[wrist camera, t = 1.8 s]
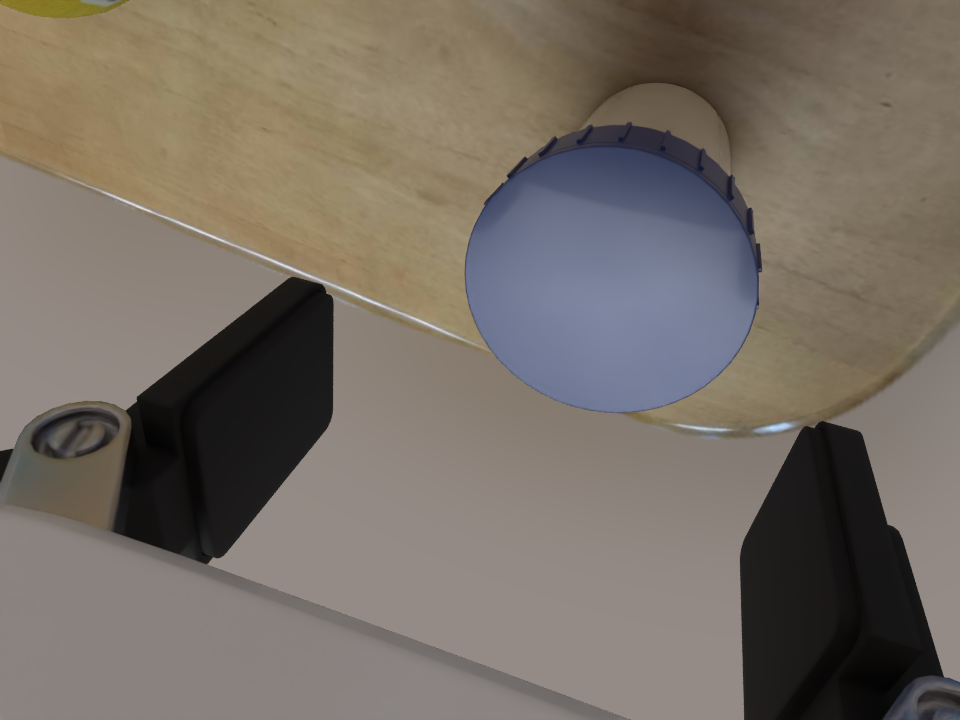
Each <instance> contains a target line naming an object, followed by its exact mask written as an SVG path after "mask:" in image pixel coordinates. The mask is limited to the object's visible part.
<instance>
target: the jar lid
mask: <svg viewBox="0 0 960 720" xmlns="http://www.w3.org/2000/svg"><path fill="white" fill-rule="evenodd" d="M706 152H707V150H705V149H704V148H702V150H700V149H698V148H697V147H695V146H693V145H692V144H690V143H689V142H687V141H685V140H683V139H680V138H678V137H676V136H673V135H671V131H669V130H667V131H666V132H662V131H659V130H655V129H652V128H647V127H640V126H633V125H632V122H627V124H626V125H606V126H598V127H593V125H592V124H591V125H588V126H587V127H586V128H585V129H583V130H579V131H576V132H572V133H570V134H568V135H565V136H563V137H560V138H558V139H557V137H556V136H555V137H553V138H552V139H551V140H550V141H549V142H548V143H547V144H546V145H545V146H544V147H542V148H541V149H539V150H538V151H537V152H535V153H534V154H533V155H532V156H530V157H529V158H528V159H527V158H526V157H524V158H523V159H522V160H521V161H520V162H519V163H518V164H517V165H516V166H515V167H514V168H513V169H512V170H511V172H510V173H509V174H508V175H507V177H508V178H509V179H508V180H507V181H506V182H505V183H502V184H501V185H500V186H499V187H498V188H497V189H496V191H495V192H494V193H493V194H492V195H491V196H490V197H489V198H488V199H487V200H486V201H485V203H484V205H486V206H485V207H484V208H483V210H482V212H481V214H480V216H479V218H478V219H477V221H476V223H475V225H474V228H473V231H472V233H471V237H470V240H469V243H468V248H467V253H466V261H465V284H466V293H467V298H468V302H469V307H470V310H471V313H472V315H473V318H474V321H475V323H476V325H477V327H478V329H479V331H480V334H481V336H482V337H483V339H484V340H485V342H486V343H487V345H488V347H489V348H490V350H491V351H492V352H493V353H494V355H495V356H496V357H497V358H498V359H499V361H500V362H501V363H502V364H503V365H504V366H505V367H506V368H507V369H508V370H509V371H511V373H513V374H514V375H515V376H516V377H518V378H519V379H520V380H522V381H523V382H524V383H525V384H527V385H528V386H530V387H532V388H533V389H535V390H536V391H538V392H540V393H541V394H544V395H546V396H548V397H550V398H552V399H554V400H556V401H559V402H562V403H565V404H567V405H570V406H574V407H578V408H583V409H586V410H591V411H599V412H610V413H627V412H639V411H645V410H650V409H655V408H659V407H662V406H665V405H669V404H672V403H675V402H677V401H679V400H681V399H683V398H686V397H688V396H690V395H692V394H693V393H695V392H697V391H698V390H700V389H701V388H703V387H705V386H706V385H707V384H708V383H710V382H711V381H712V380H713V379H715V378H716V377H717V376H718V375H719V374H720V373H721V372H722V371H723V370H724V369H725V368H726V367H727V366H728V365H729V364H730V363H731V362H732V360H733V359H734V357H735V356H736V355H737V353H738V352H739V350H740V349H741V348H742V346H743V344H744V342H745V340H746V338H747V336H748V334H749V332H750V329H751V326H752V323H753V320H754V317H755V314H756V309H758V307H759V297H758V293H759V275H758V272H762V262H761V251H760V243H759V244H756V239H755V232H754V220H753V210H752V208H749V209H748V207H747V205H746V203H745V201H744V199H743V197H742V195H741V193H740V191H739V190H738V188H737V187H736V185H735V178H734V177H733V175H731V176H728V174H727V173H726V172H725V171H724V170H723V169H722V168H721V167H720V166H719V165H718V163H716V162H715V161H714V160H713V159H711V158H710V157H709V156H708V155H707V154H706Z"/></svg>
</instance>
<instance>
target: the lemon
mask: <svg viewBox="0 0 960 720" xmlns="http://www.w3.org/2000/svg"><path fill="white" fill-rule="evenodd" d="M127 1H129V0H0V4H2V5H4V6H7V7H10V8H12V9H15V10H17V11H20V12H24V13H27V14H30V15H35V16H43V17H50V18H75V17H81V16H87V15H93V14H98V13H103V12H107V11H109V10H111V9H113V8H115V7H118V6H120V5H122V4H123V3H125V2H127Z"/></svg>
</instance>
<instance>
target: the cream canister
mask: <svg viewBox="0 0 960 720" xmlns="http://www.w3.org/2000/svg"><path fill="white" fill-rule="evenodd" d="M627 122H632V125H633V126H640V127H647V128H652V129H655V130H659V131H662V132H666V131H667V130H669V131H671V135H673V136H676V137H678V138H680V139H683V140H685V141H687V142H689V143H690V144H692V145H693V146H695V147H697V148H698V149H700V150H702V148H704V149H705V150H707V152H706V154H707V155H708V156H709V157H710V158H711V159H713V160H714V161H715V162H716V163H718V165H719V166H720V167H721V168H722V169H723V170H724V171H725V172H726V173H727V174H728V176H731V148H730V141H729V137H728V134H727V131H726V128H725V126H724V124H723V122H722V120H721V118H720V117H719V115H718V114H717V112H716V111H715V110H714V109H713V108H712V106H711V105H710V104H709V103H708V102H706V101H705V100H704V99H703V98H702V97H700V96H699V95H697V94H695V93H694V92H692V91H690V90H688V89H685V88H683V87H680V86H676V85H673V84H666V83H646V84H640V85H636V86H632V87H629V88H626V89H624V90H622V91H620V92H618V93H616V94H614V95H613V96H611V97H609V98H608V99H607V100H605V101H604V102H603V103H602V104H601V105H600V106H599V107H598V108H597V109H596V110H595V111H594V112H593V113H592V114H591V115H590V117H589V118H588V119H587V120H586V122H585V123H584V124H583V125H582V127H581V128H580V129H579V130H583V129H585V128H586V127H587V126H588V125H591V124H592V125H593V127H598V126H606V125H626V124H627ZM579 130H578V131H579Z"/></svg>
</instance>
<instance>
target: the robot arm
mask: <svg viewBox="0 0 960 720" xmlns="http://www.w3.org/2000/svg"><path fill="white" fill-rule="evenodd" d="M332 414H333V298H332V296H331V295H329V294H326V290H325V287H324V286H323V285H322V284H319V283H315V282H311V281H308V280H304V279H300V278H297V277H291V278H289V279H287V280H286V281H285V282H284V283H282V284H281V285H280V286H278V287H277V288H276V289H274V290H273V291H272V292H271V293H269V294H268V295H267V296H266V297H264V298H263V299H262V300H260V301H259V302H258V303H257V304H255V305H254V306H253V307H251V308H250V309H249V310H248V311H246V312H245V313H244V314H243V315H241V316H240V317H239V318H237V319H236V320H235V321H234V322H232V323H231V324H230V325H228V326H227V327H226V328H225V329H223V330H222V331H221V332H219V333H218V334H217V335H216V336H214V337H213V338H212V339H210V340H209V341H208V342H207V343H205V344H204V345H203V346H202V347H200V348H199V349H198V350H196V351H195V352H194V353H193V354H191V355H190V356H189V357H187V358H186V359H185V360H184V361H182V362H181V363H180V364H179V365H177V366H176V367H175V368H173V369H172V370H171V371H170V372H168V373H167V374H166V375H165V376H163V377H162V378H161V379H159V380H158V381H157V382H156V383H154V384H153V385H152V386H150V387H149V388H148V389H146V390H145V391H144V392H143V393H141V394H140V395H139V396H138V397H137V402H136V403H135V404H133V405H132V406H131V407H130V408H128V409H127V410H126V411H125V410H123V409H121V408H120V407H118V406H116V405H114V404H110V403H106V402H101V401H83V402H76V403H69V404H66V405H63V406H59V407H56V408H53V409H50V410H49V411H47V412H45V413H43V414H41V415H39V416H37V417H36V418H35V419H33V420H32V421H31V422H30V423H29V424H27V425H26V426H25V428H24V429H23V430H22V432H21V434H20V435H19V437H18V439H17V442H16V445H15V447H14V449H9V450H4V451H0V720H630V719H627V718H624V717H622V716H619V715H616V714H613V713H611V712H608V711H606V710H602V709H600V708H598V707H595V706H592V705H589V704H587V703H584V702H581V701H579V700H576V699H573V698H571V697H568V696H565V695H562V694H560V693H557V692H555V691H552V690H549V689H546V688H544V687H541V686H538V685H536V684H533V683H530V682H528V681H525V680H522V679H520V678H517V677H514V676H511V675H509V674H506V673H503V672H501V671H498V670H495V669H492V668H490V667H487V666H484V665H482V664H479V663H476V662H473V661H471V660H468V659H465V658H463V657H459V656H457V655H454V654H452V653H449V652H446V651H443V650H441V649H438V648H435V647H432V646H430V645H427V644H424V643H422V642H419V641H416V640H413V639H411V638H408V637H405V636H403V635H400V634H397V633H394V632H392V631H389V630H386V629H383V628H381V627H378V626H375V625H372V624H370V623H367V622H364V621H361V620H359V619H356V618H353V617H350V616H348V615H345V614H342V613H340V612H337V611H334V610H331V609H329V608H326V607H323V606H320V605H318V604H315V603H312V602H309V601H306V600H303V599H301V598H298V597H295V596H293V595H290V594H287V593H284V592H281V591H278V590H276V589H273V588H270V587H268V586H265V585H262V584H259V583H256V582H254V581H251V580H248V579H245V578H243V577H240V576H237V575H234V574H232V573H229V572H226V571H223V570H220V569H218V568H215V567H212V566H209V565H207V564H208V563H209V562H210V560H211V559H212V558H213V557H215V558H220V557H222V556H224V555H225V553H227V551H228V550H229V549H230V548H231V546H232V545H233V544H234V543H235V541H236V540H237V539H238V538H239V537H240V535H241V534H242V533H243V532H244V530H245V529H246V528H247V527H248V525H249V524H250V523H251V522H252V520H253V519H254V518H255V517H256V515H257V514H258V513H259V512H260V510H261V509H262V508H263V507H264V506H265V504H266V503H267V502H268V501H269V499H270V498H271V497H272V496H273V495H274V493H275V492H276V491H277V490H278V488H279V487H280V486H281V485H282V483H283V482H284V481H285V480H286V478H287V477H288V476H289V475H290V473H291V472H292V471H293V470H294V469H295V467H296V466H297V465H298V464H299V462H300V461H301V460H302V459H303V458H304V456H305V455H306V454H307V452H308V451H309V450H310V449H311V448H312V446H313V445H314V444H315V443H316V441H317V440H318V439H319V438H320V436H321V435H322V434H323V433H324V432H325V430H326V429H327V427H328V425H329V423H330V421H331V418H332ZM740 576H741V577H740V578H741V579H740V580H741V616H742V652H743V686H744V687H743V688H744V720H960V682H958V681H955V680H953V679H950V678H945V677H944V676H943V673H942V669H941V666H940V662H939V659H938V656H937V653H936V650H935V646H934V642H933V639H932V636H931V633H930V629H929V626H928V623H927V619H926V616H925V612H924V609H923V606H922V602H921V599H920V596H919V592H918V589H917V586H916V582H915V579H914V576H913V573H912V569H911V566H910V562H909V559H908V556H907V553H906V549H905V546H904V542H903V539H902V537H901V535H900V533H899V531H898V530H897V529H896V528H894V527H893V526H890V525H887V521H886V517H885V514H884V510H883V507H882V503H881V499H880V496H879V492H878V489H877V486H876V482H875V478H874V475H873V471H872V468H871V464H870V461H869V457H868V454H867V450H866V446H865V443H864V439H863V436H862V434H861V432H859V431H857V430H853V429H849V428H846V427H842V426H838V425H835V424H831V423H827V422H824V421H822V422H819V423H818V424H817V425H816V427H815V428H811V427H808V426H805V427H804V428H803V429H802V430H801V432H800V433H799V435H798V437H797V439H796V441H795V443H794V445H793V447H792V449H791V450H790V453H789V454H788V456H787V458H786V460H785V462H784V464H783V466H782V468H781V470H780V472H779V473H778V476H777V477H776V479H775V481H774V483H773V485H772V487H771V489H770V491H769V493H768V495H767V497H766V498H765V500H764V502H763V504H762V506H761V508H760V510H759V512H758V514H757V516H756V518H755V519H754V521H753V523H752V525H751V527H750V529H749V531H748V533H747V535H746V537H745V539H744V542H743V545H742V548H741V554H740Z"/></svg>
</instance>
